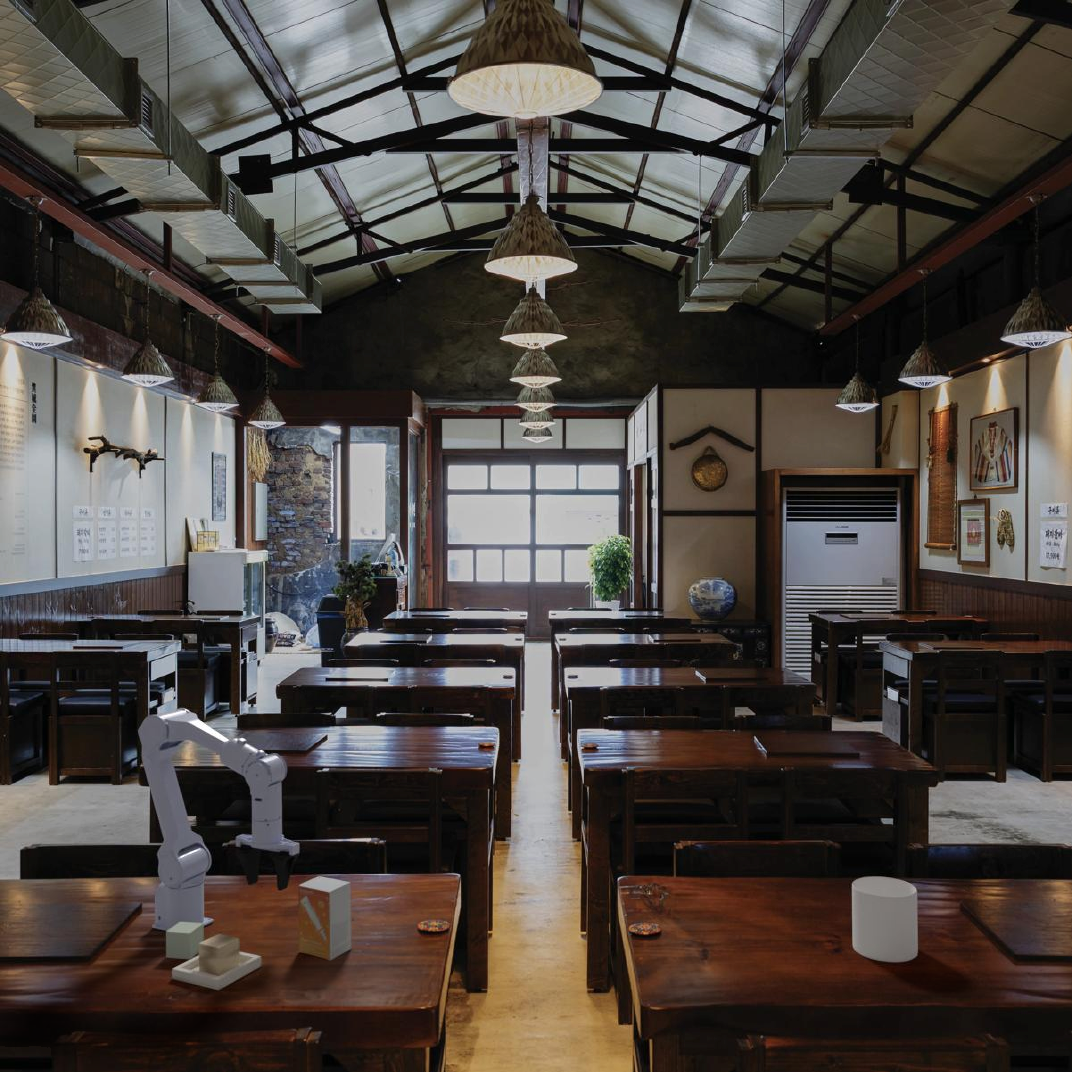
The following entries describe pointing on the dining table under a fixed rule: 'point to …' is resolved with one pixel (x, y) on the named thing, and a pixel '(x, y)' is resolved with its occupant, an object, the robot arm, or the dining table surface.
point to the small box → (324, 917)
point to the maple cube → (219, 954)
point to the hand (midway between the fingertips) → (267, 886)
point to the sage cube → (184, 940)
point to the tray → (194, 976)
